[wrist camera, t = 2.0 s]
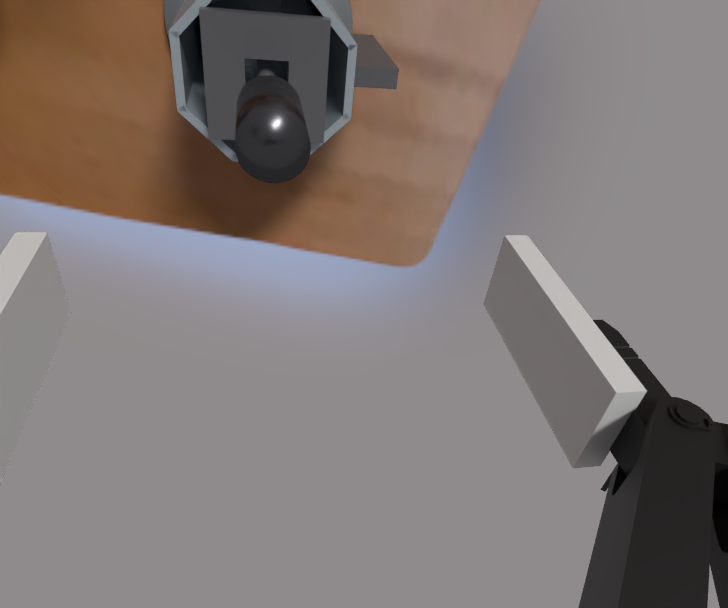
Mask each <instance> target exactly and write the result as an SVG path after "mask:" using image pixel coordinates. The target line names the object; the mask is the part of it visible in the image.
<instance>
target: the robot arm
mask: <svg viewBox="0 0 728 608" xmlns="http://www.w3.org/2000/svg"><path fill="white" fill-rule="evenodd" d="M484 306H485V307H486V309H487V311H488V313H489V315H490V317H491V319H492V321H493V322H494V324H495V326H496V328H497V330H498V332H499V333H500V335H501V337H502V339H503V341H504V343H505V344H506V346H507V348H508V350H509V352H510V354H511V355H512V357H513V359H514V361H515V363H516V365H517V367H518V368H519V370H520V372H521V374H522V376H523V378H524V379H525V381H526V383H527V385H528V387H529V389H530V390H531V392H532V394H533V396H534V398H535V400H536V401H537V403H538V405H539V407H540V409H541V411H542V412H543V414H544V416H545V418H546V420H547V421H548V423H549V425H550V427H551V429H552V431H553V433H554V434H555V436H556V438H557V440H558V442H559V443H560V445H561V447H562V449H563V451H564V453H565V455H566V456H567V458H568V460H569V462H570V464H571V466H572V467H573V468H581V467H593V466H600V465H601V464H602V462H603V461H604V459H605V458H606V456H607V454H608V453H609V451H611V453H612V454H613V456H614V458H615V459H616V461H617V462H618V464H617V465H616V467H615V468H614V470H613V471H612V473H611V474H610V476H609V477H608V479H607V481H606V482H605V484H604V485H603V487H602V488H601V490H603V491H606V490H607V488H608V492H607V496H606V500H605V504H604V508H603V512H602V516H601V520H600V524H599V528H598V532H597V536H596V540H595V544H594V548H593V552H592V556H591V560H590V564H589V568H588V572H587V576H586V581H585V585H584V588H583V592H582V597H581V600H580V604H579V608H707V601H708V584H709V583H708V582H709V565H710V566H711V571H712V575H713V579H714V584H715V588H716V593H717V597H718V602H719V606H720V608H728V424H723V423H718V422H713V420H712V419H711V417H710V416H709V415H708V414H707V413H706V412H705V411H704V410H702V409H701V408H700V407H698V406H697V405H695V404H693V403H691V402H689V401H687V400H683V399H681V398H677V397H671V396H670V395H669V393H668V392H667V391H666V390H665V388H664V387H663V386H662V385H661V384H660V382H659V381H658V380H657V379H656V377H655V376H654V375H653V374H652V372H651V371H650V370H649V369H648V367H647V366H646V365H645V364H644V362H643V361H642V360H641V359H638V355H637V354H636V353H635V352H634V350H633V349H632V348H630V347H629V344H628V343H627V342H626V340H625V339H624V338H623V337H622V335H621V334H620V333H619V332H618V331H617V330H616V329H614V328H613V327H611V326H610V325H609V324H607V323H606V322H605V321H603V320H592V319H591V318H590V316H589V315H588V314H587V312H586V311H585V310H584V309H583V307H582V306H581V305H580V304H579V302H578V301H577V299H576V298H575V297H574V296H573V294H572V293H571V292H570V290H569V289H568V288H567V286H566V285H565V284H564V283H563V282H562V280H561V279H560V277H559V276H558V275H557V273H556V272H555V271H554V270H553V268H552V267H551V266H550V265H549V263H548V262H547V261H546V259H545V258H544V257H543V255H542V254H541V253H540V251H539V250H538V249H537V248H536V246H535V245H534V244H533V242H532V241H531V240H530V238H529V237H528V236H527V235H505V236H504V239H503V242H502V246H501V249H500V252H499V255H498V259H497V262H496V265H495V268H494V272H493V275H492V278H491V282H490V285H489V288H488V291H487V295H486V298H485V301H484ZM70 315H71V310H70V307H69V303H68V300H67V296H66V293H65V290H64V286H63V283H62V280H61V276H60V273H59V270H58V267H57V263H56V260H55V256H54V253H53V250H52V246H51V243H50V240H49V236H48V233H42V232H40V233H39V232H31V233H30V232H16V233H15V234H14V236H13V237H12V239H11V240H10V242H9V243H8V245H7V246H6V248H5V249H4V251H3V252H2V254H1V255H0V484H1V481H2V479H3V477H4V474H5V472H6V469H7V467H8V465H9V462H10V460H11V457H12V455H13V452H14V450H15V448H16V445H17V443H18V440H19V438H20V436H21V433H22V430H23V428H24V426H25V423H26V421H27V419H28V416H29V414H30V411H31V409H32V407H33V404H34V402H35V399H36V397H37V394H38V392H39V390H40V387H41V385H42V382H43V380H44V378H45V375H46V373H47V370H48V368H49V366H50V363H51V361H52V358H53V356H54V353H55V351H56V348H57V346H58V344H59V341H60V339H61V336H62V334H63V331H64V329H65V327H66V324H67V322H68V320H69V317H70Z"/></svg>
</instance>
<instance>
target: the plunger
mask: <svg viewBox="0 0 728 608" xmlns="http://www.w3.org/2000/svg"><path fill="white" fill-rule="evenodd" d="M208 7H213V8H225V9H237V10H249V11H261V12H273V13H284V14H296V15H308V16H314V14H313V11H312V9H311V7H310V5H309V3H308V1H307V0H212V1H211V2H210V4H209V6H208ZM235 152H236V156H237V159H238V161H239V163H240V165H241V166H242V167H243V169H244V170H245V171H246V172H247V173H248V174H250V175H251V176H252V177H254V178H256V179H258V180H260V181H263V182H268V183H280V182H285V181H288V180H290V179H292V178H294V177H296V176H297V175H298V174H299V173H300V172H301V171H302V170H303V169H304V168H305V166H306V165H307V163H308V160H309V157H310V152H311V144H310V139H309V134H308V130H307V126H306V122H305V117H304V113H303V109H302V105H301V101H300V98H299V95H298V93H297V92H296V90H295V89H294V87H293V86H292V85H291V84H290V83H288V61H277V60H262V59H247V58H245V85H244V86H243V88H242V89H241V91H240V93H239V95H238V98H237V108H236V130H235Z"/></svg>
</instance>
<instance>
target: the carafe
mask: <svg viewBox="0 0 728 608" xmlns="http://www.w3.org/2000/svg"><path fill="white" fill-rule="evenodd" d="M211 1H212V0H184V1H183V3H182V5H181V7H180V9H179V11H178V13H177V15H176V17H175V19H174V21H173V23H172V25H171V27H170V29H169V39H170V48H171V57H172V66H173V75H174V85H175V94H176V103H177V111H178V112H179V113H180V114H181V115H182V116H183V117H184V118H186V119H187V120H188V121H189V122H190V123H191V124H192V125H193V126H194V127H195V128H197V129H198V130H199V131H200V132H201V133H202V134H203V135H204V136H205V137H206V138H208V139H209V140H210V141H211V142H212V143H213V144H214V145H215V146H216V147H217V148H219V149H220V150H221V151H222V152H223V153H224V154H225V155H226V156H227V157H228V158H230V159H231V160H232V161H233V162H239V161H238V159H237V156H236V152H235V130H236V108H237V98H238V95H239V93H240V91H241V89H242V88H243V86H244V85H245V58H247V59H262V60H277V61H288V83H290V84H291V85H292V86H293V87H294V89H295V90H296V92H297V93H298V95H299V98H300V101H301V105H302V109H303V113H304V117H305V122H306V126H307V130H308V134H309V139H310V144H311V152H310V155H311V154H312V153H313V152H314V151H315V150H317V149H318V148H319V147H320V146H321V145H322V144H323V143H324V142H326V141H327V140H328V139H329V138H330V137H331V136H332V135H333V134H335V133H336V132H337V131H338V130H339V129H340V128H341V127H343V126H344V125H345V124H346V123H347V122H348V121H349V120H350V119H351V112H352V100H353V89H354V87H369V88H386V89H396V86H397V79H398V72H399V69H398V67H397V66H396V65H395V63H394V62H393V61H392V60H391V58H390V57H389V56H388V54H387V53H386V52H385V51H384V49H383V48H382V47H381V45H380V44H379V43H378V42H377V40H376V39H375V38H374V36H373V35H363V34H351V33H349V31H348V30H347V28H346V26H345V25H344V23H343V22H342V20H341V19H340V17H339V16H338V14H337V13H336V11H335V9H334V8H333V6H332V5H331V3H330V2H329V1H328V0H307V1H308V3H309V5H310V7H311V9H312V11H313V14H314V16H308V15H296V14H284V13H273V12H261V11H249V10H237V9H225V8H213V7H208V6H209V4H210V2H211Z"/></svg>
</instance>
